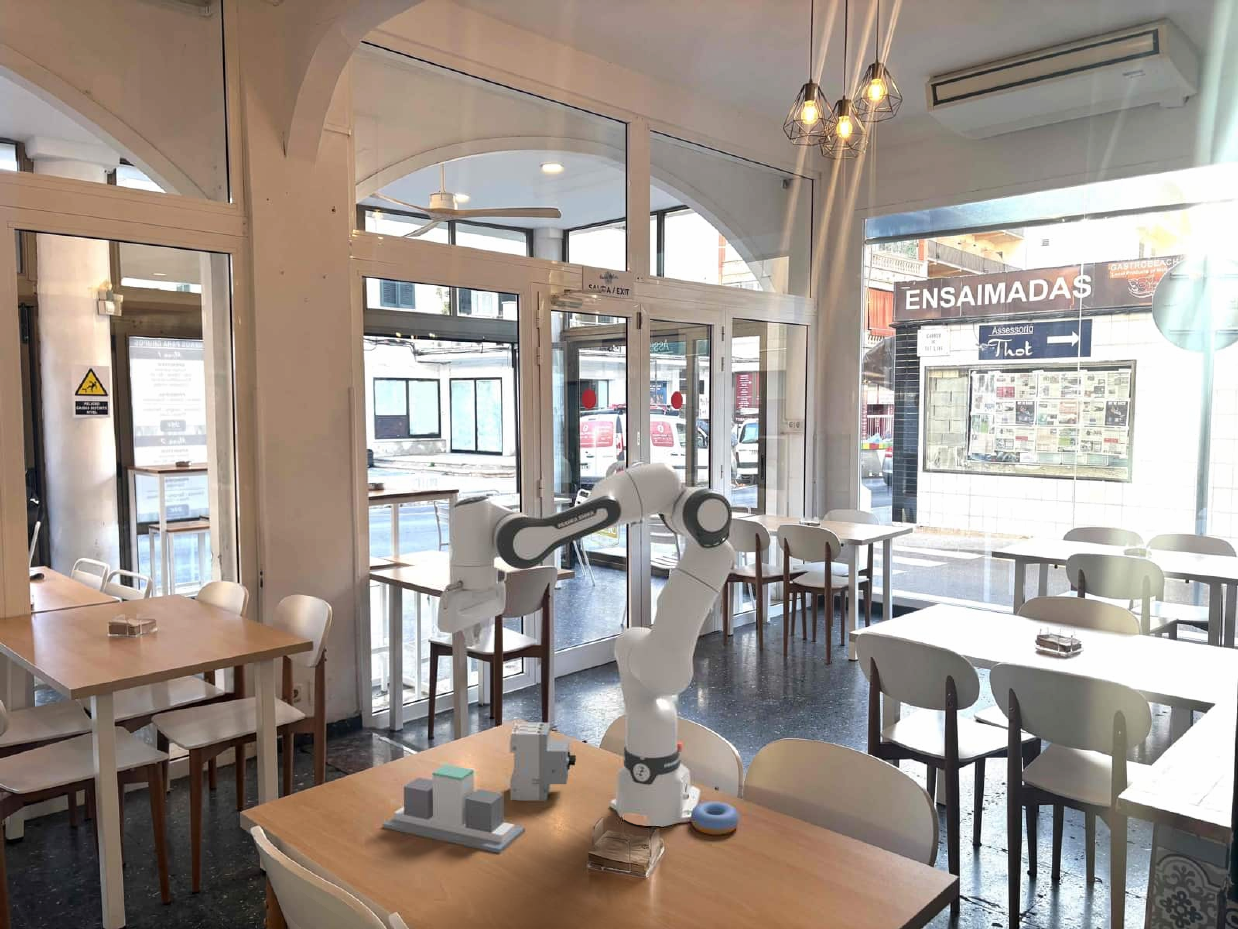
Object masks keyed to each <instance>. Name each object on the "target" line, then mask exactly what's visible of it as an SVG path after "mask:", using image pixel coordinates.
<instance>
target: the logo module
mask: <svg viewBox="0 0 1238 929" xmlns="http://www.w3.org/2000/svg"><path fill="white" fill-rule="evenodd" d="M474 771H475V770H474V769H471V768H466V767H461V766H460V767H459V766H454V765H450V764H443V765H442V766H440V767H439V768H438V769H436V770H435V771H433V772H432V780H433V820H435V821H440V822H444V823H449V824H454V825H459V826H463V825H464V824H466V823H465V798H467V797H468V796H470V795H471V794H472V793H474V792H475V789H474V788H475V784H474V783H475V782H474V781H475V780H474V779H475V778H474V775H475V772H474Z"/></svg>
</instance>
